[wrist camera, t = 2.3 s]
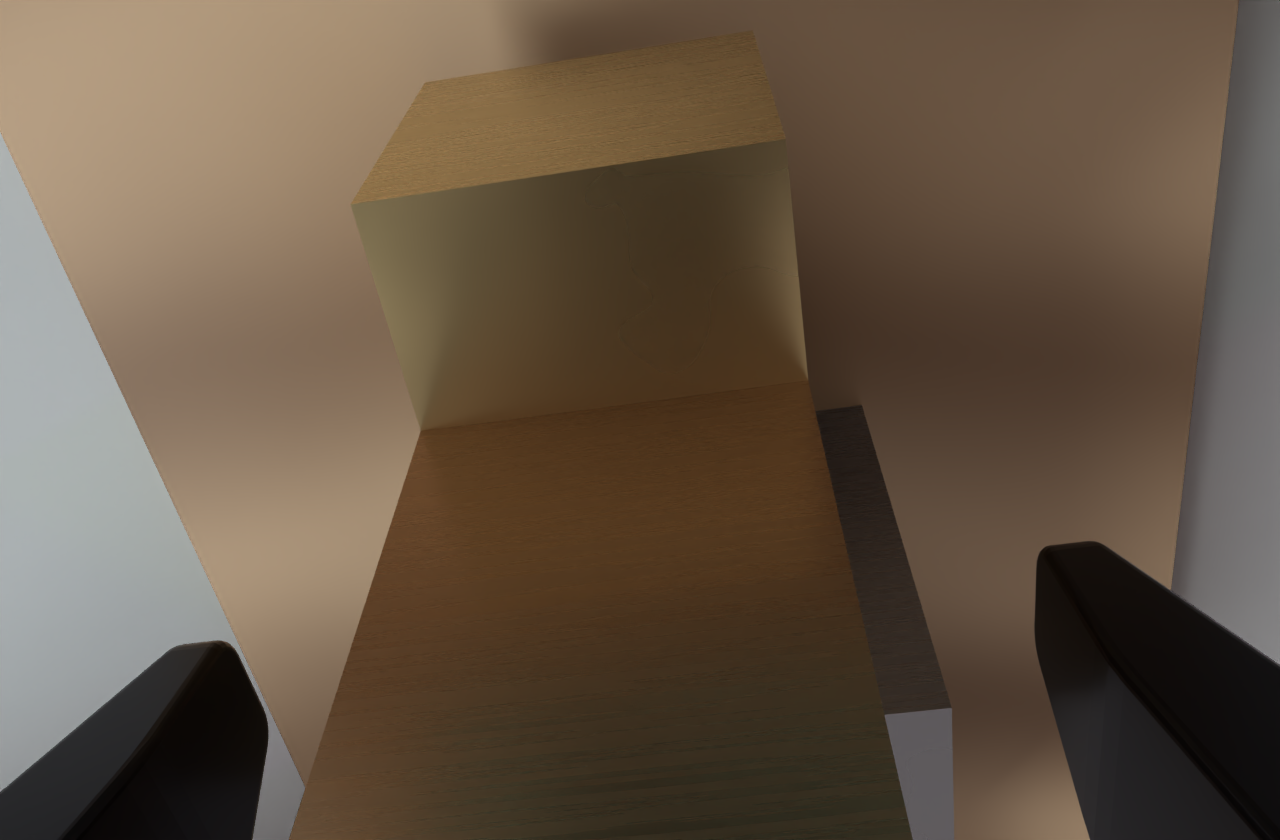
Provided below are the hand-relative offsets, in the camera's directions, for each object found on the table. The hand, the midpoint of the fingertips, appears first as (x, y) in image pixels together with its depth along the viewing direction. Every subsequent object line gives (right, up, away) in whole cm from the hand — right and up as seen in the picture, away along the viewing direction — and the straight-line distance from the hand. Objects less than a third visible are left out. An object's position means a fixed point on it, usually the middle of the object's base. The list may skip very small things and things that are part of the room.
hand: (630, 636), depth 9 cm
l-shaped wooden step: (+1, -2, +7) cm, 7 cm away
